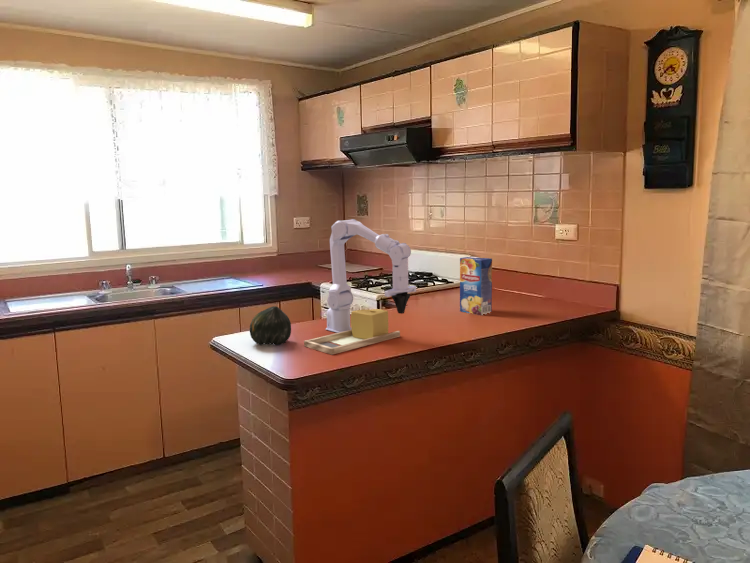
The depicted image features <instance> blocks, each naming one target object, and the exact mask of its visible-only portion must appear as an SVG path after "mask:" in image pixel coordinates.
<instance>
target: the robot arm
mask: <svg viewBox="0 0 750 563" xmlns="http://www.w3.org/2000/svg"><path fill="white" fill-rule="evenodd" d="M356 235H358V236H360V237H362V238H364V239H366V240H368V241H369V242H372V243H374V245H375V248H376V249H378V250H380V251H382V252H383V253H385V254H386V255H388V256H389V258H390V259H391V265H392V288H390V289H387V290H384V292H383V293H384V297H387V298H390V297H391V298H392V299H393V302H394V304H395V308H396V310H397V314H401V315H403V314H405V312H406V311H405V310H406V306H407V303H408V302H409V299H410V297H411V293H413V292H414V293H415V292H417V286H416V285H409V257H410V256H411V254H412V251H411V247H410V245H408V244H407V243H406V242H401V243H400V241H399V240H396V239H394V238H391V237H390V234H388V233H382V234H379V233H377V232H376V231H374V230H372V229H371V228H369V227H367V226H366V225H364V224H363V223H362V222H361V221H360V220H359V221H358V220H357V219H354V218H351V219H346V220H336V221H335V222H334V223H333V224H332V225H331V234H330V236H329V250H330V262H331V263H330V264H331V265H330V266H331V276H332V278H331V279H332V285H331V286H330V288H329V290H328V295H327V296H328V297H327V305H328V306H329V308H328V309H327V311H326V328H325V331H326V330H327V331H329V332H334V333H339V332H343V331H348V330H352V328H351V305H353V302H354V294H353V292H352V290H351V289H352V287H351V286H350V285H349V284H348V282H347V270H346V268H347V267H346V266H347V265H346V255H345V254H346V253H345V251H346V250H345V243H346V242H347V241H348V240H350V239H351V238H353V237H355V236H356Z"/></svg>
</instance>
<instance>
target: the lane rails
mask: <svg viewBox="0 0 750 563" xmlns="http://www.w3.org/2000/svg"><path fill="white" fill-rule="evenodd" d="M352 335H353V334H352V330H348V331H343V332H339V333H337V332H334V333H331V334H328V335H322V336H320V337H319V336H318V337H315V338H310V339H306V340H303V346H304V347H306V348H309V349H312V350H315V351H319V352H321V353H325V354H329V355H335V354H336V355H337V354H339V353H343V352H347V351H351V350H355V349H358V348H359V349H360V348H361V347H362V348H363V347H366V346H370V345H373V344H377V343H380V342H385V341H388V340H392V339H396V338H400V337H401V331H400V330H396V331H392V332H388V333H387V334H384V335H380V336H376V337H372V338H368V339H364V340H360V341H356V342H352V343H349V344H345V345H339V346H337V347H333V348H331V347H328V346H325V345H321V344H319V343H324V342H329V341H332V340H336V339H340V338H344V337H348V336H352Z"/></svg>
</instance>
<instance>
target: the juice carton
mask: <svg viewBox="0 0 750 563" xmlns="http://www.w3.org/2000/svg"><path fill="white" fill-rule="evenodd" d="M492 283H493V258H489V257H488V258H487V257H479V256H465V257H460V258H459V312H460V311H461V312H462V313H465V312H466V314H470V313H472V314H471V315H476V314H477V315H476V316H484V315H483V314H485V315H488V314H487V313H489V314H491V313H490V312H492V310H493V309H492V305H493V304H492V302H493V301H492V299H493V298H492V297H493V289H492V288H493V284H492Z"/></svg>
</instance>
